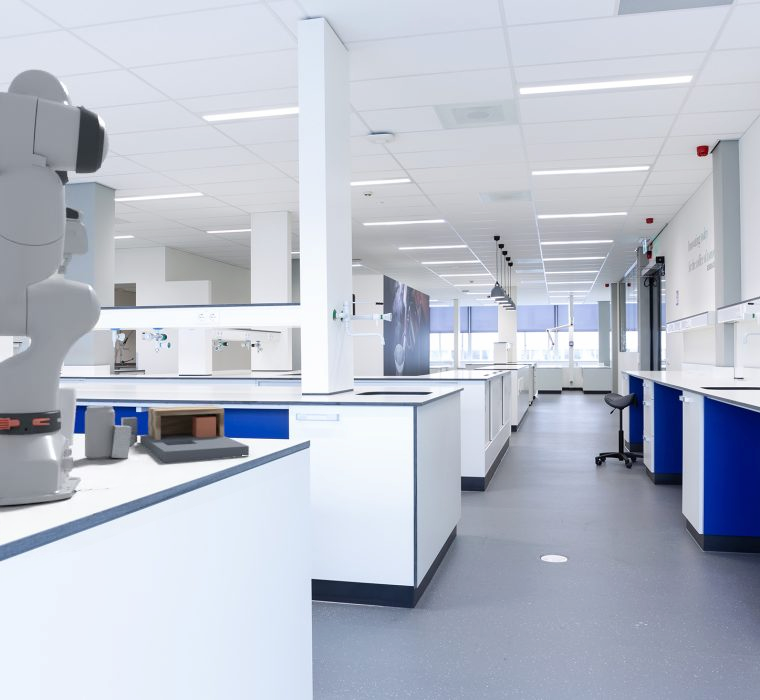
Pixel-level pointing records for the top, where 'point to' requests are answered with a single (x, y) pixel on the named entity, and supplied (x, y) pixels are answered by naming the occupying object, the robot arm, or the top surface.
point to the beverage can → (99, 431)
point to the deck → (192, 447)
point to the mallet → (132, 423)
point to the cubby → (181, 419)
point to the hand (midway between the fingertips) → (39, 272)
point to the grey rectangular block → (121, 441)
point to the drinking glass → (67, 412)
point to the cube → (203, 426)
